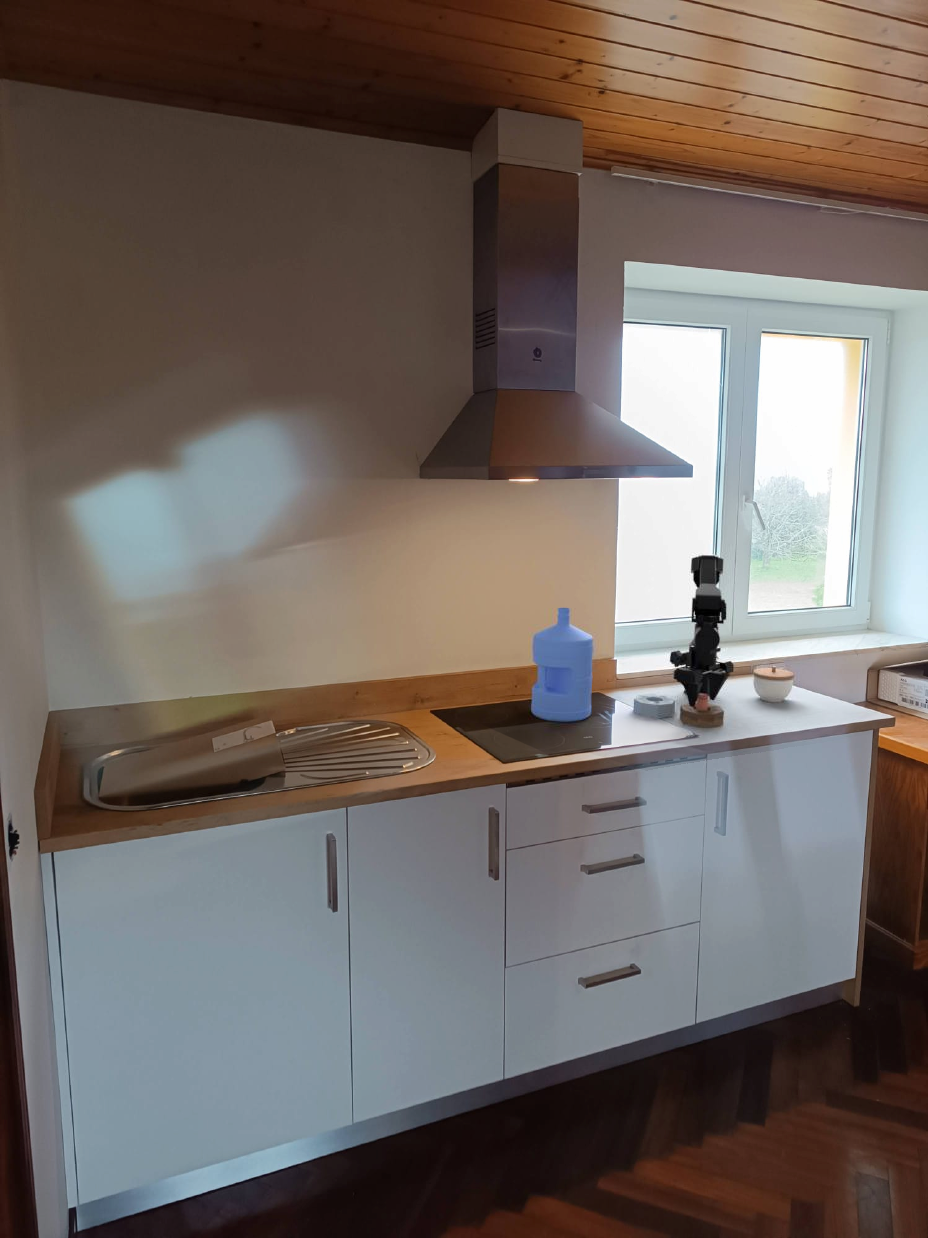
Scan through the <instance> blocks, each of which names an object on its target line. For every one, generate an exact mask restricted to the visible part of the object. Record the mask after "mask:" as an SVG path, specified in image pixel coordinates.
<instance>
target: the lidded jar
mask: <svg viewBox="0 0 928 1238" xmlns="http://www.w3.org/2000/svg"><path fill="white" fill-rule="evenodd" d="M752 675H753V679H752V680H753V681H752V682H753V688H754V691H755V693H756V695H757V696H759V698H760V700H761V701H766V702H771V703H780V702H783V701H784V699H786V698H787V697H789V695H790V693H791V691H792V689H793V685H794V678H795V674H794V673H793V672H792V671H790V670H786V669H781V668H777V666H776V665H773V666H771V667H760V668H756V669H753V672H752Z"/></svg>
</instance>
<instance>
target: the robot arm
mask: <svg viewBox="0 0 928 1238" xmlns="http://www.w3.org/2000/svg"><path fill="white" fill-rule="evenodd" d="M723 573H724V558H721V557H719V555H716V554H700V555H699V554H698V556H695V557H694V556H693V557H692V558H691V562H690V574H692V579H693V580H692V581H693V582H694V585H695V587H696V589H695V595H694V596H695V597H694V596H693V597H692V600H691V623H695V624H694V632H693V633H694V634H693V635H694V636H693V637H694V638H693V639H692V641H690V643H689V647H688V651H685V652H681V651H680V650H675V651H671V652H670V655H669V656H670V657H669V662H670V663H671V664H672V665H673V666H674V668H676V669H674V670H673V675H672V676H673V677H672V678H673V679H674V680H675V681H676V682H677V683H680V684H681V685H682V686H683V688H684V690H683V693H685V695H686V697H687V701H688V703H689V705H690V706H691V707H694V706H695V703H696V702H697V698H698V695H699V693H703V694H708V695H709V700H711V701H715V700H716V698H717V696H718V694H719V693H720V690H721V689H722V688H723V686H724V684H725V683H726V681H727V679H728V678H729V677H730V676H731V673H734V663H733V662H732V661H731V660H728V659H722V658H719V657H718V653H720V652H722V651H721V647H719V645H720V642H721V637H720V633H719V628H720V627H719V624H723V625H724V624H725V623H724V622H725V621H727V602H726V600H725V598H722V590H721V589H719V588H718V587H717V585H718V584H719V582H720V578H721V577H720V575H723ZM679 666H680V667H679Z"/></svg>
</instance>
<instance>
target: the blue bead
mask: <svg viewBox="0 0 928 1238" xmlns="http://www.w3.org/2000/svg"><path fill="white" fill-rule="evenodd" d="M632 710H633V712H634V713H635V714H637V715H639V716H641V717H647V718H655V719H659V718H660V719H662V718H669V717H670V718H671V717H672V716H674V714H675V713H676V699H674V698H672V697H670V696H668V695H663V694H653V693H648V694H637V695H636V696H635V697H634V698H633V709H632Z"/></svg>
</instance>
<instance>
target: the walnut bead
mask: <svg viewBox="0 0 928 1238" xmlns="http://www.w3.org/2000/svg"><path fill="white" fill-rule="evenodd" d="M679 708H680V709H679V721H680V722H682V724H684V725H686V726H687V725H688V726H691V727H695V728H717V727H719V726H722V725H724V714H725V713H724V712H725V711H724V709H723V708H722V707H721V706H719V705H716V704H712V703H708V710H707V711H700V710H696V703H695V706H694V707H691V706H690V705H689V702H688V703H684V704H681V705H680V707H679Z"/></svg>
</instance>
